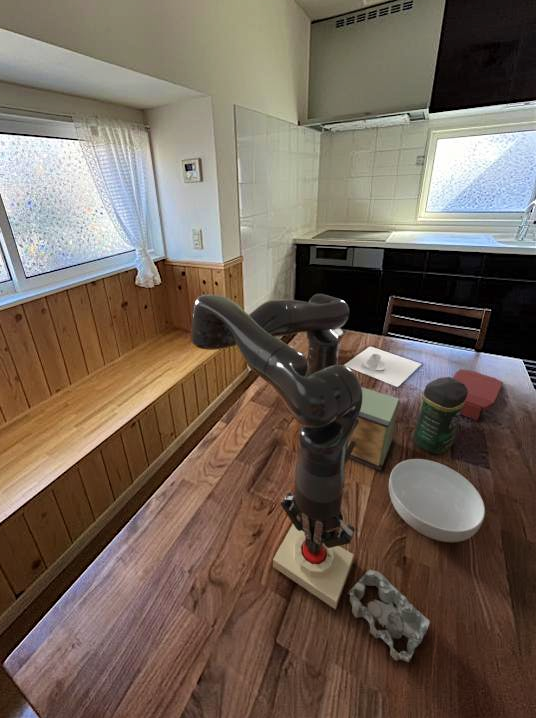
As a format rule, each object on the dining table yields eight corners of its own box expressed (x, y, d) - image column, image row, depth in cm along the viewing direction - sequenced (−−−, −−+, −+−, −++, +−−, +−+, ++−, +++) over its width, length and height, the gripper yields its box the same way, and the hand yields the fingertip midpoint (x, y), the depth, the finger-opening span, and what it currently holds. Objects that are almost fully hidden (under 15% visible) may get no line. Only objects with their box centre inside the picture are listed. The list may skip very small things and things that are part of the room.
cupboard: (317, 444, 89) (320, 402, 84) (333, 419, 98) (336, 379, 92) (380, 471, 81) (388, 425, 75) (391, 441, 89) (399, 398, 84)
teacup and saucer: (370, 356, 129) (371, 347, 127) (391, 364, 124) (392, 354, 122) (359, 365, 124) (360, 356, 122) (379, 373, 118) (381, 364, 117)
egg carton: (342, 604, 57) (344, 589, 55) (370, 575, 60) (372, 561, 59) (402, 674, 49) (406, 659, 47) (429, 636, 52) (434, 621, 51)
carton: (457, 380, 118) (437, 405, 101) (461, 367, 117) (441, 391, 100) (499, 394, 111) (485, 423, 93) (503, 380, 109) (490, 408, 92)
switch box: (272, 566, 62) (272, 553, 61) (294, 527, 69) (294, 514, 68) (335, 609, 56) (337, 595, 54) (352, 561, 63) (354, 548, 61)
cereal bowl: (441, 573, 60) (449, 548, 57) (368, 501, 74) (372, 478, 71) (495, 528, 67) (504, 504, 64) (419, 469, 81) (424, 447, 78)
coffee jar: (437, 460, 83) (453, 399, 75) (407, 441, 89) (419, 382, 82) (458, 444, 87) (476, 384, 80) (429, 426, 94) (442, 370, 86)
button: (298, 558, 61) (299, 552, 60) (307, 539, 64) (308, 533, 63) (319, 571, 59) (320, 565, 58) (328, 551, 62) (328, 545, 61)
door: (334, 479, 78) (338, 439, 73) (348, 451, 86) (353, 413, 81) (367, 495, 74) (374, 454, 69) (379, 463, 82) (386, 425, 77)
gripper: (271, 477, 55) (271, 546, 61) (352, 520, 47) (342, 592, 54) (292, 448, 60) (290, 514, 67) (368, 482, 53) (357, 552, 60)
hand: (313, 548), depth 61 cm, fingers closed
